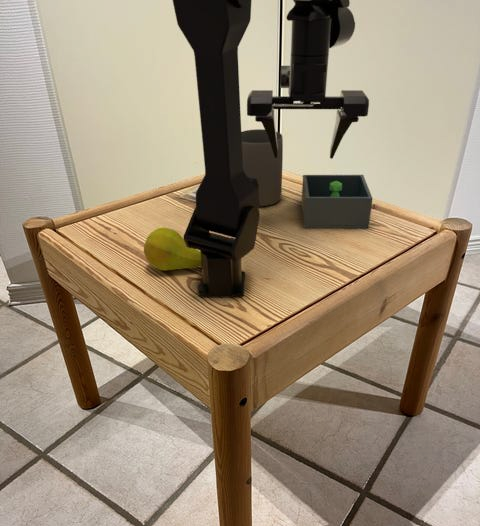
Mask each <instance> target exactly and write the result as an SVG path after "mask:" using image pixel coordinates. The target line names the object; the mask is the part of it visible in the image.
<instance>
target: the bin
mask: <svg viewBox="0 0 480 526" xmlns="http://www.w3.org/2000/svg"><path fill="white" fill-rule="evenodd" d="M334 181H338V182H340V183H342V190H341V191H338V192H339V196H340V197H330V196H331V194H332V192H333V191H331V190H329V189H330V183H331V182H334ZM301 186H302V187H301V211H302V219H303V227H304V229H369V227H370V220H371V213H372V206H373V196H372V193H371V190H370V188H369V186H368V183H367V180H366V179H365V175H364V174H302V185H301Z"/></svg>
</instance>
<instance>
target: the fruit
mask: <svg viewBox="0 0 480 526" xmlns="http://www.w3.org/2000/svg"><path fill="white" fill-rule="evenodd" d="M143 254H144V256H145V258H146V260H147V262H148V263H149V264H150V265H151V266H152V267H153V268H156V269H158V270H160V271H171V270H172V271H173V270H181V269H195V268H202V266H201V252H200V250H197V249H194V248H188V247H187V246H186V243H185V241H184V238H183V236H182V235H181V234H180V233H179V232H178V231H177V230H175V229H172V228H169V227H164V226H163V227H158V228H155V230H153V231H151V232H150V233H149V235H148V236H147V237H146V240H145V243H144V246H143Z"/></svg>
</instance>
